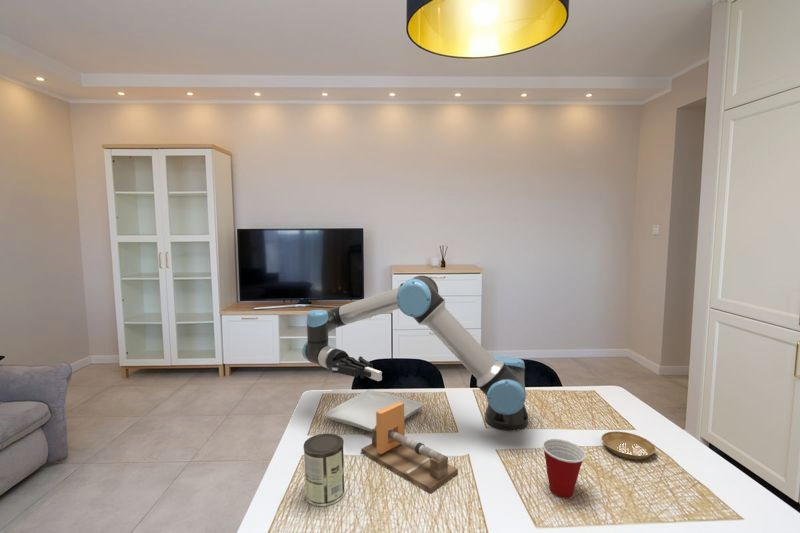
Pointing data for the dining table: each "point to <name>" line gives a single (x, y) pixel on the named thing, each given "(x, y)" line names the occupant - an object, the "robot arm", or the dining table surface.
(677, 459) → the dining table surface
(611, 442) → the plant saucer
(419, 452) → the pipe stand
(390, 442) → the upright orange slab
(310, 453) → the coffee can
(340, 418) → the square plate
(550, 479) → the plastic cup
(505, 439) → the dining table surface
